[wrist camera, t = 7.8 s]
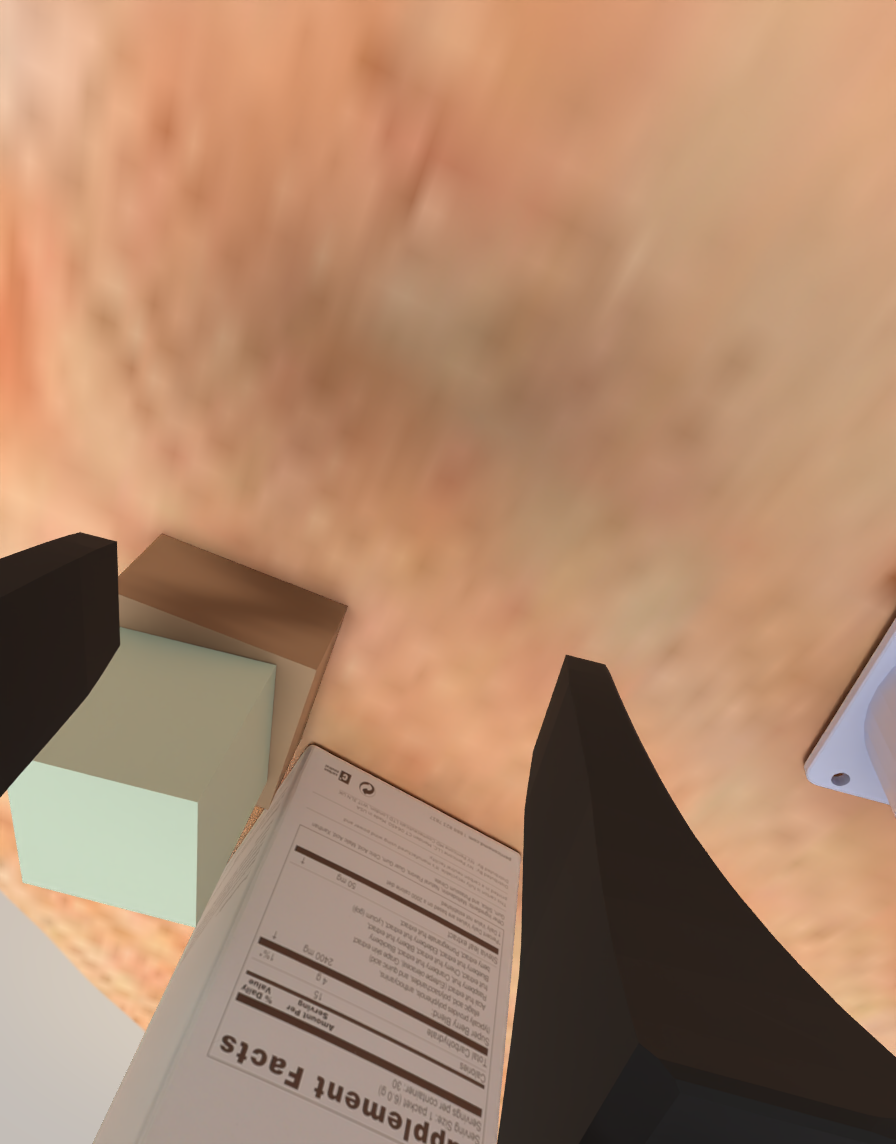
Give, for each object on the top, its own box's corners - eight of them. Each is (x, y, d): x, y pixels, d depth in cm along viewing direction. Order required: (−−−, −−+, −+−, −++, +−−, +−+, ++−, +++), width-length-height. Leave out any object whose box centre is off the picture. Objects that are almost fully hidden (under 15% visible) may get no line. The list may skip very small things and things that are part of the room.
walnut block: (350, 601, 24) (316, 670, 21) (303, 734, 27) (268, 809, 24) (165, 529, 24) (105, 589, 21) (139, 671, 27) (83, 741, 24)
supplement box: (410, 968, 33) (296, 1517, 20) (217, 871, 32) (-36, 1390, 19) (531, 853, 28) (484, 1466, 15) (312, 734, 27) (62, 1294, 14)
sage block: (276, 665, 21) (198, 802, 17) (267, 781, 24) (195, 927, 19) (118, 626, 22) (1, 752, 17) (124, 745, 24) (22, 882, 20)
